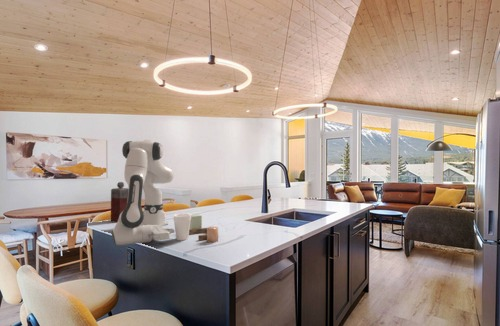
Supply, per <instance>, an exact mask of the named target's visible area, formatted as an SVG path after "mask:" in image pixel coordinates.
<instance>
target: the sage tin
mask: <svg viewBox="0 0 500 326" xmlns="http://www.w3.org/2000/svg"><path fill="white" fill-rule="evenodd" d="M202 218H203V217H202V215H201V214H191V221H190V228H189V230H192V229H201V228H203V227H202V225H203V223H202V222H203V221H202Z"/></svg>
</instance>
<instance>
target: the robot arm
mask: <svg viewBox="0 0 500 326" xmlns="http://www.w3.org/2000/svg"><path fill="white" fill-rule="evenodd" d="M121 152H122V155H123V158H125V164H124V165H125V166H124V181H125V182H126V183H127V186H128V187H127V188H129V191H128V200H127V206H126V208H125V210H124V211H122V212H121V214H120V216H119V219H118V222H116V224H115V226H114V227H113V229H112V230H111V237H112V241H113V243H114V244H115V245H116V246H131V245H134V244H145V243H151V242H152V240H154V241H165V240H167V241H168V240H170V237H171V236H170V235H171V234H174V233H175V228H165V227H164V226H166V225H169V223H168V221H166V212H165V211H164V203H163V192H162V190H160V189H159V188H156V187H155V186H154V184H162V185H163V184H168V183H171V182H172V181H173V180H174V176H175V174H174V171H173V170H172V168H170V167H168V166H166V165H164V164H163V163H162V161H161V159H162V157H163V153H164V149H163V145H162V144H161V143H159V142H156V141H153V140H151V139H145V140H140V141H139V140H137V141H133V140H128V141H126V142H124V143H123V145H122V149H121ZM143 193H144V205H143V207H142V198H143V197H142V196H143ZM143 209H144V210H143Z"/></svg>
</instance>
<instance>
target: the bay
mask: <svg viewBox="0 0 500 326" xmlns="http://www.w3.org/2000/svg"><path fill="white" fill-rule="evenodd" d="M203 233H204V234H203ZM205 233H206V234H205ZM196 234H197V235H198V234H199V235H198V237H197V238H198V241H204V240H206V241H207V227H202V228H201V229H192V230H189V235H196Z"/></svg>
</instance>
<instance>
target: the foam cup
mask: <svg viewBox="0 0 500 326" xmlns="http://www.w3.org/2000/svg"><path fill="white" fill-rule="evenodd" d="M191 215H192V214H191V213H175V214H174V215H173V222H174V233H175V239H176V241H186V240H188V239H189V235H190V234H189V228H190V221H191Z"/></svg>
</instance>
